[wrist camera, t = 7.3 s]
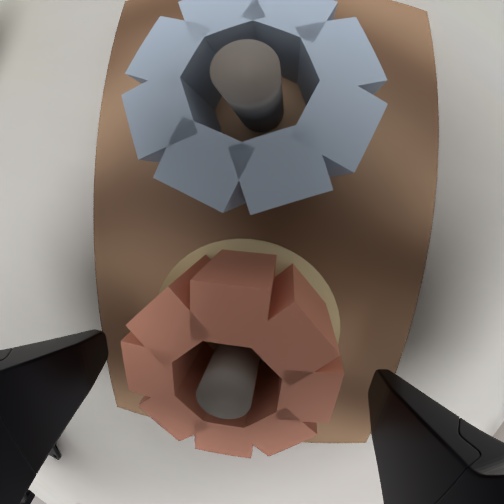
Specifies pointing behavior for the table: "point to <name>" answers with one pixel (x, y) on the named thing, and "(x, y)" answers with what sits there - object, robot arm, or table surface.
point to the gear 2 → (237, 334)
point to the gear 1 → (207, 96)
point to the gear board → (278, 210)
